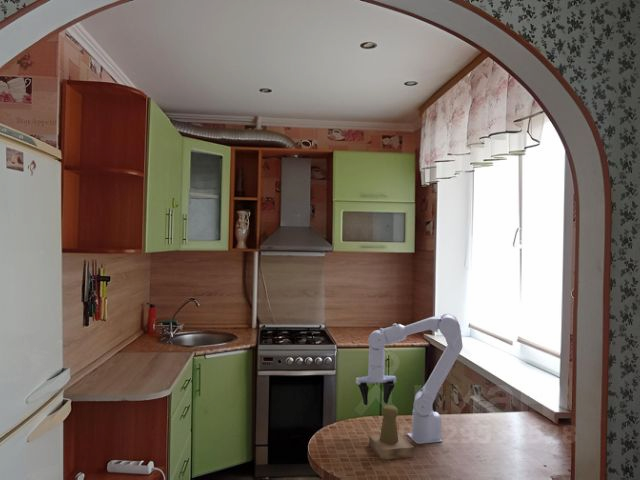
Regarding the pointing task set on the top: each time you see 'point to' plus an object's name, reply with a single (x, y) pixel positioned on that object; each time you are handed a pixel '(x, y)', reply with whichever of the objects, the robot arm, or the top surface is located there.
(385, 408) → the cork
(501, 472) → the top surface
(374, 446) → the walnut block
